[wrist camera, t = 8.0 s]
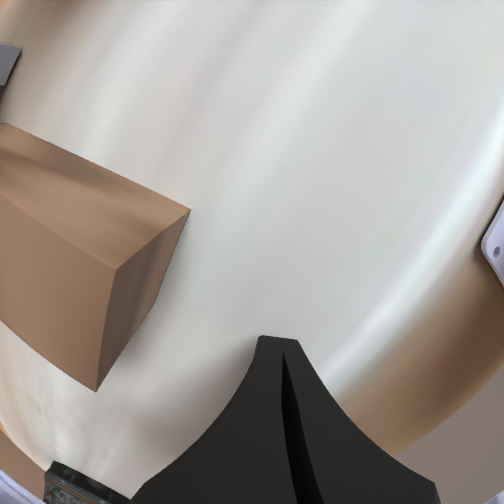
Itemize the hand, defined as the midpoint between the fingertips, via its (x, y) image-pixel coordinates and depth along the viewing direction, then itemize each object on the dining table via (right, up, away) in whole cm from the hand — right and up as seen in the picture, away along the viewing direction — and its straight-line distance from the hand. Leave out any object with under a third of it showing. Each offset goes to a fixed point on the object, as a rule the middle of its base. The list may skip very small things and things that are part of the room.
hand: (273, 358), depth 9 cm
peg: (-8, +6, 0) cm, 10 cm away
